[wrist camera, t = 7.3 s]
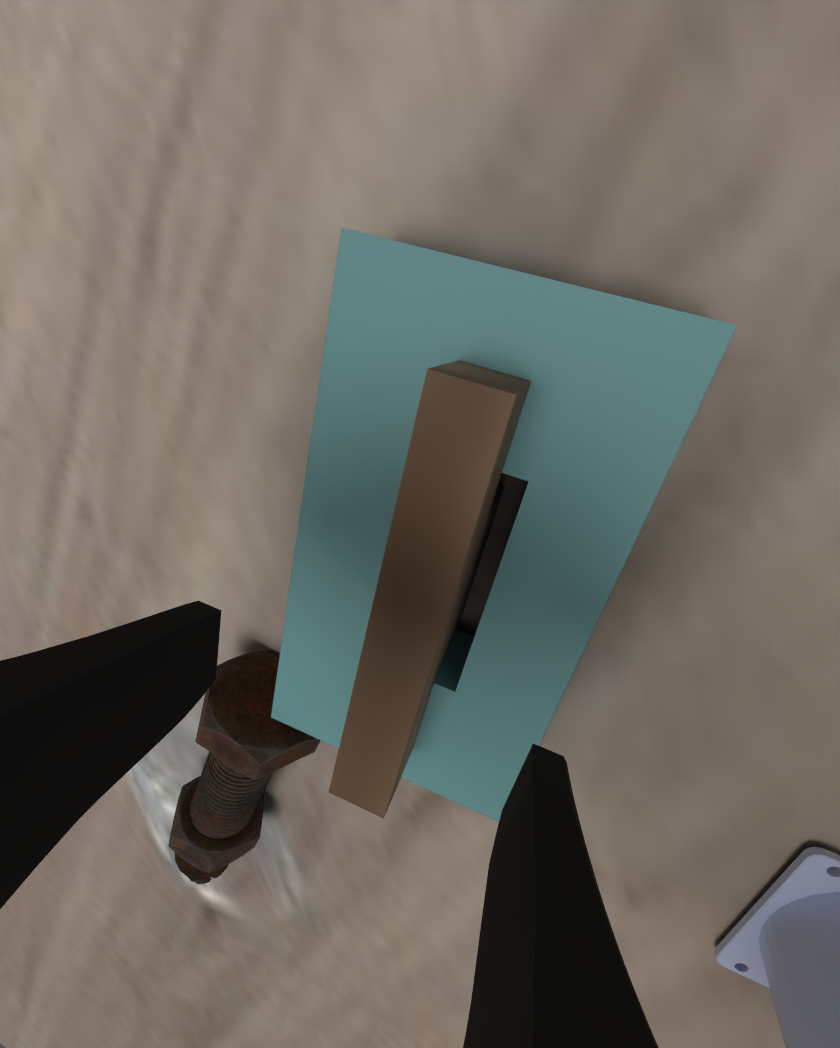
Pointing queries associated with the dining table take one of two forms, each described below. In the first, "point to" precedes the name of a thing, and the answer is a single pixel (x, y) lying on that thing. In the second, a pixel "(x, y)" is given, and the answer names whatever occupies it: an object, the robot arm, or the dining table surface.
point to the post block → (535, 455)
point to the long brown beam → (426, 570)
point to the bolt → (233, 767)
